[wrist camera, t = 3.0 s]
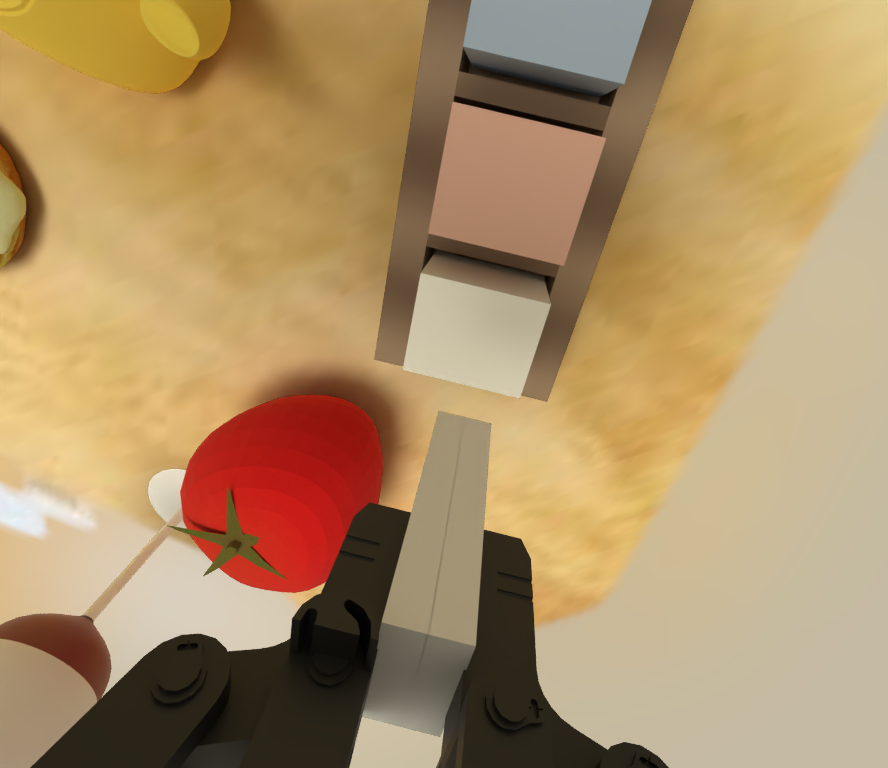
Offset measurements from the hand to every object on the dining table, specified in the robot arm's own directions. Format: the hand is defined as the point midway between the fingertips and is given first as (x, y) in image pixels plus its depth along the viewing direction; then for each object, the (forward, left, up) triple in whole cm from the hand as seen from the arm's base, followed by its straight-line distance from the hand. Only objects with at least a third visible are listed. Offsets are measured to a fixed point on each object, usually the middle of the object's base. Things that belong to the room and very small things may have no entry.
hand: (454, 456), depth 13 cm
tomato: (+14, -9, -18) cm, 25 cm away
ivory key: (0, 0, -14) cm, 14 cm away
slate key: (-13, 0, -14) cm, 19 cm away
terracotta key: (-7, 0, -14) cm, 15 cm away
